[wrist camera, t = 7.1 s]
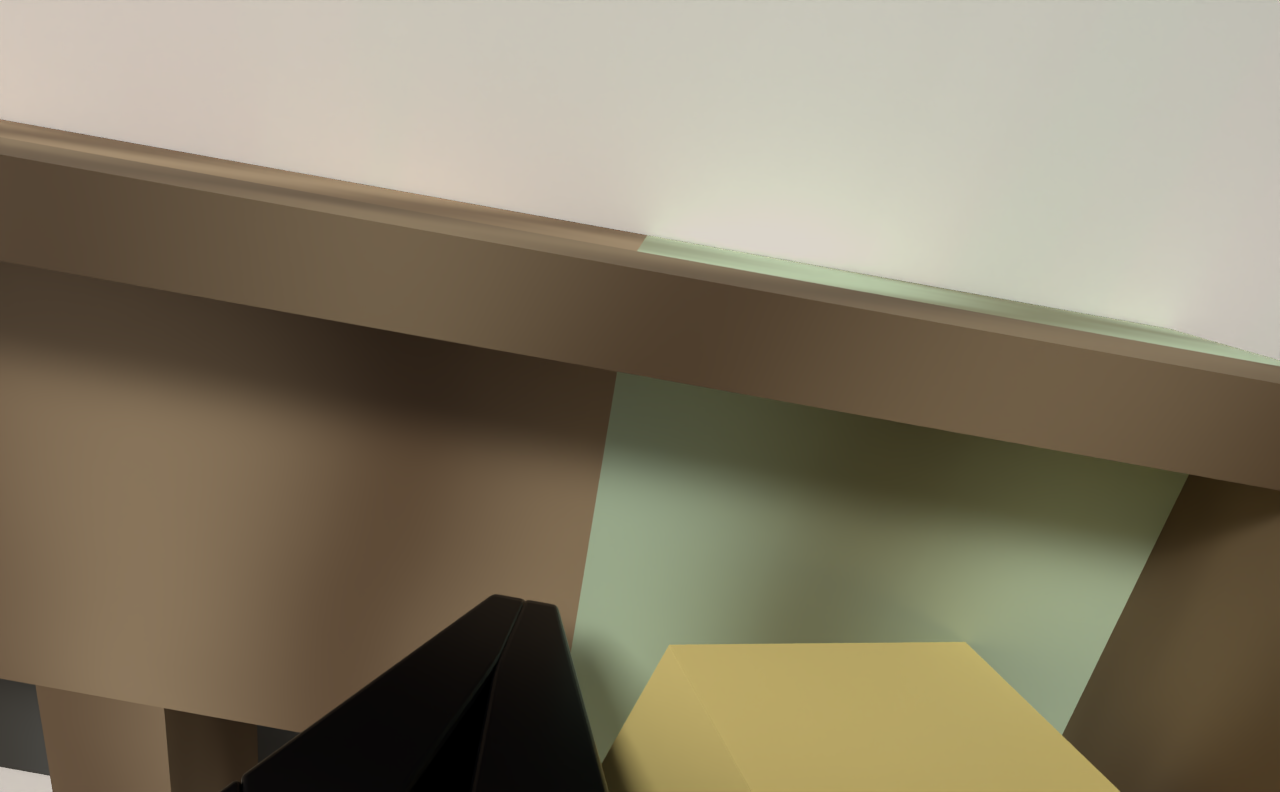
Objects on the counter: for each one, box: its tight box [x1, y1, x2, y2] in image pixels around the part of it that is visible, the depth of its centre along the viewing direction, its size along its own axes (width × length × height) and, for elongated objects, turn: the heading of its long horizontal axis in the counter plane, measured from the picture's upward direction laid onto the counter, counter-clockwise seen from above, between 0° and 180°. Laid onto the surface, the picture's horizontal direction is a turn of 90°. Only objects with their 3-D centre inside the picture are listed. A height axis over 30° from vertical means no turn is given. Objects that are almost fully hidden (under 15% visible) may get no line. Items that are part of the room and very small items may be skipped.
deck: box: [0, 120, 1280, 792], centre depth 9 cm, size 26×13×6 cm, turn 80°
